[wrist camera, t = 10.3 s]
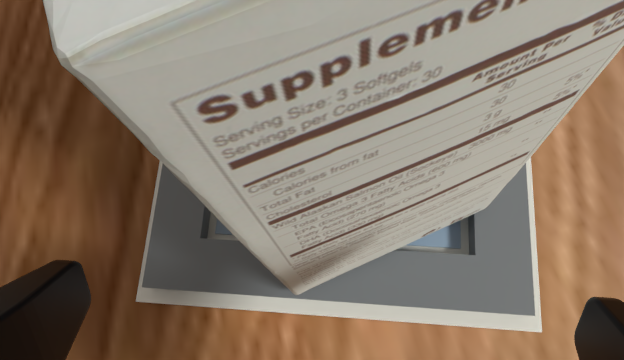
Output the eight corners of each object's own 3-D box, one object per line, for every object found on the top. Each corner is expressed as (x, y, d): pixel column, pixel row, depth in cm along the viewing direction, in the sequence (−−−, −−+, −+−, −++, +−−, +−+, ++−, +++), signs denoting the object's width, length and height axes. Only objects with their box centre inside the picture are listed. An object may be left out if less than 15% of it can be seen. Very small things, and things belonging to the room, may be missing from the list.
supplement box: (222, 125, 17) (-55, -351, 6) (395, 54, 18) (456, -521, 6) (291, 304, 15) (12, 66, 3) (494, 215, 15) (947, -299, 3)
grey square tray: (529, 330, 16) (552, 333, 14) (147, 301, 17) (125, 301, 15) (510, -7, 20) (526, -37, 18) (198, -10, 21) (185, -39, 19)
